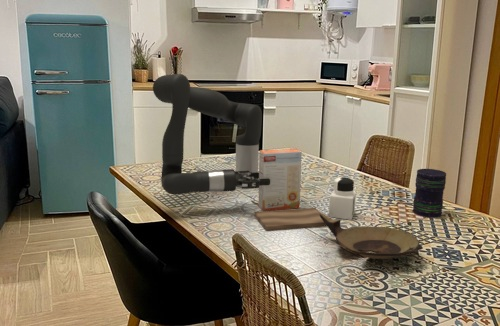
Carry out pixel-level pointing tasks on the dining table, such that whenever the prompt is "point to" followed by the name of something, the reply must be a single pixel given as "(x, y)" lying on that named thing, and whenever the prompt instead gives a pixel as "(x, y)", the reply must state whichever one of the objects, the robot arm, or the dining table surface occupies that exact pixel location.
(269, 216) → the walnut board
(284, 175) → the cracker box
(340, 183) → the container
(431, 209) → the storage jar
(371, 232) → the oil lamp
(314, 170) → the dining table surface
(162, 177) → the robot arm
